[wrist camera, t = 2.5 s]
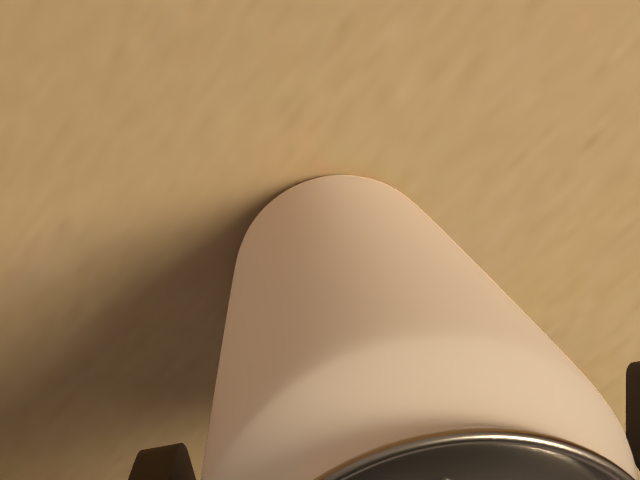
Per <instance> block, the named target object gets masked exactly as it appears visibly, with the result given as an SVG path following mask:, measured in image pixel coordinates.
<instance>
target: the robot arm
mask: <svg viewBox="0 0 640 480" xmlns="http://www.w3.org/2000/svg"><path fill="white" fill-rule="evenodd" d="M626 438H627V441H628V443H629V446H630V449H631V452H632V455H633V458H634V462H635V464H636V466H637V468H638V469H639V471H640V361H638V362H633V363H631V364H629V366H628V368H627V371H626ZM128 480H196V478H195V475H194V471H193V468H192V464H191V461H190V457H189V454H188V451H187V448H186V446H185V445H184V444H183V443H179V444H173V445H168V446H162V447H157V448H151V449H146V450H141V451H139V453H138V454H137V457H136V459H135V462H134V465H133V468H132V470H131V473H130V476H129V479H128Z"/></svg>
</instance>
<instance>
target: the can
mask: <svg viewBox="0 0 640 480" xmlns="http://www.w3.org/2000/svg"><path fill="white" fill-rule="evenodd" d="M201 480H639V479H638V474H637V470H636V466H635V462H634V458H633V455H632V452H631V449H630V446H629V443H628V441H627V438H626V436H625V433H624V431H623V429H622V427H621V425H620V423H619V421H618V419H617V417H616V416H615V414H614V412H613V411H612V409H611V408H610V407H609V405H608V404H607V402H606V401H605V400H604V398H603V397H602V396H601V394H600V393H599V392H598V390H597V389H596V388H595V387H594V385H593V384H592V383H591V382H590V381H589V380H588V379H587V377H586V376H585V375H584V374H583V373H582V372H581V371H580V370H579V369H578V368H577V366H576V365H575V364H574V363H573V362H572V361H571V360H570V359H569V358H568V357H567V356H566V355H565V354H564V353H563V352H562V351H561V350H560V349H559V347H558V346H557V345H556V344H555V343H554V342H553V341H552V340H551V339H550V338H549V337H548V336H547V335H546V334H545V333H544V332H543V331H542V330H541V329H540V328H539V327H538V326H537V325H536V324H535V323H534V322H533V321H532V320H531V319H530V318H529V317H528V316H527V315H526V314H525V313H524V312H523V311H522V309H521V308H520V307H519V306H518V305H517V304H516V303H515V302H514V301H513V300H512V299H511V298H510V297H509V296H508V295H507V294H506V293H505V292H504V291H503V290H502V289H501V288H500V287H499V286H498V285H497V284H496V283H495V282H494V281H493V280H492V279H491V278H490V277H489V276H488V275H487V274H486V273H485V272H484V271H483V270H482V269H481V268H480V267H479V266H478V265H477V264H476V263H475V262H474V261H473V260H472V259H471V258H470V257H469V256H468V255H467V254H466V253H465V252H464V251H463V250H462V249H461V248H460V247H459V246H458V245H457V244H456V243H455V242H454V241H453V240H452V239H451V238H450V237H449V236H448V235H447V234H446V233H445V232H444V231H443V230H442V229H441V228H440V227H439V226H438V225H437V224H436V223H435V222H434V221H433V220H432V219H431V218H430V217H429V216H428V215H427V214H426V213H425V212H424V211H423V210H422V209H421V208H420V207H418V206H417V205H416V204H415V203H414V202H413V201H412V200H410V199H409V198H408V197H407V196H405V195H404V194H403V193H401V192H400V191H398V190H396V189H395V188H393V187H391V186H389V185H387V184H385V183H382V182H380V181H377V180H374V179H370V178H366V177H361V176H354V175H332V176H324V177H319V178H315V179H311V180H308V181H305V182H303V183H300V184H298V185H296V186H294V187H292V188H290V189H288V190H286V191H285V192H283V193H282V194H280V195H279V196H277V197H276V198H275V199H273V200H272V201H271V202H270V203H269V204H268V205H267V206H266V207H265V208H264V209H263V210H262V211H261V212H260V213H259V214H258V215H257V217H256V218H255V219H254V221H253V222H252V224H251V225H250V227H249V229H248V230H247V232H246V234H245V236H244V239H243V241H242V243H241V246H240V249H239V252H238V256H237V260H236V265H235V270H234V276H233V281H232V287H231V293H230V299H229V305H228V311H227V317H226V323H225V329H224V335H223V341H222V347H221V354H220V360H219V366H218V372H217V379H216V385H215V391H214V398H213V404H212V410H211V417H210V423H209V430H208V436H207V443H206V450H205V457H204V463H203V470H202V478H201Z"/></svg>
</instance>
